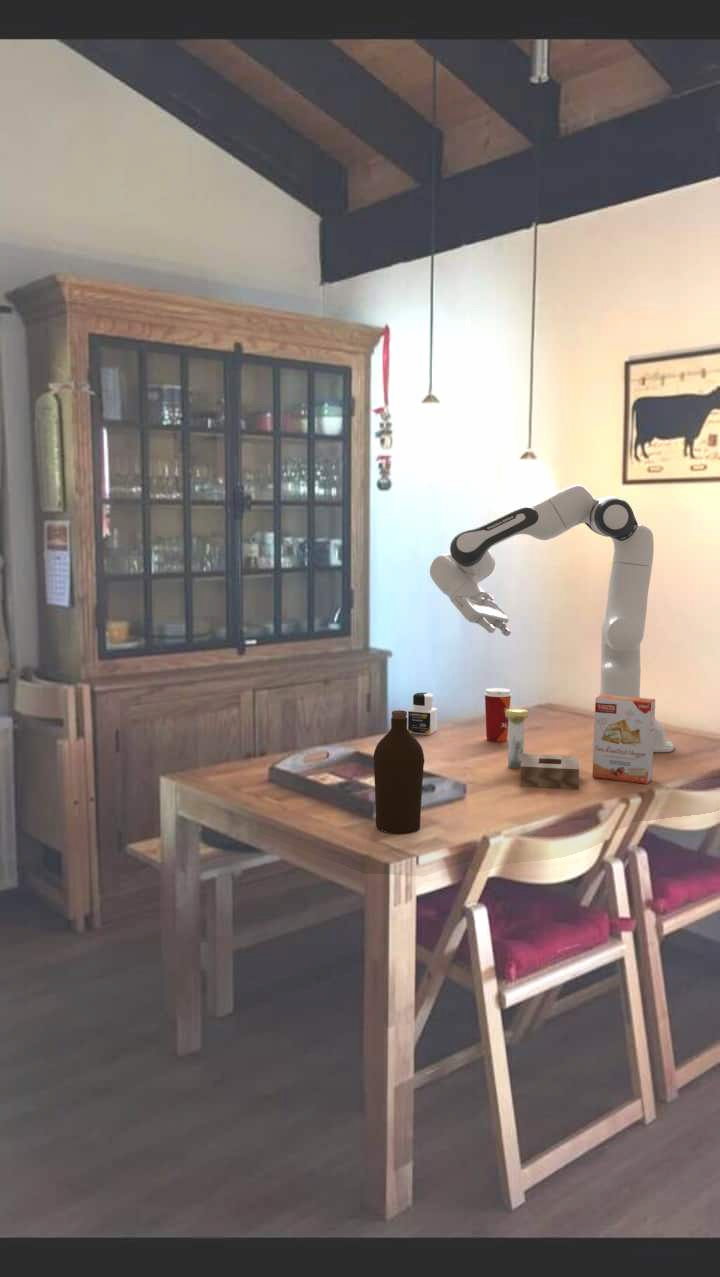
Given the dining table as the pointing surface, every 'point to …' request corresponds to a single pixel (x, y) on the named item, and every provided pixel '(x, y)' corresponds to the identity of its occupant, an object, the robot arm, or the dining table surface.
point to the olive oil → (398, 778)
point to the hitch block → (550, 771)
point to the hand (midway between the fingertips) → (500, 632)
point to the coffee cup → (497, 713)
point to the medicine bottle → (422, 715)
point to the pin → (516, 736)
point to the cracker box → (623, 738)
